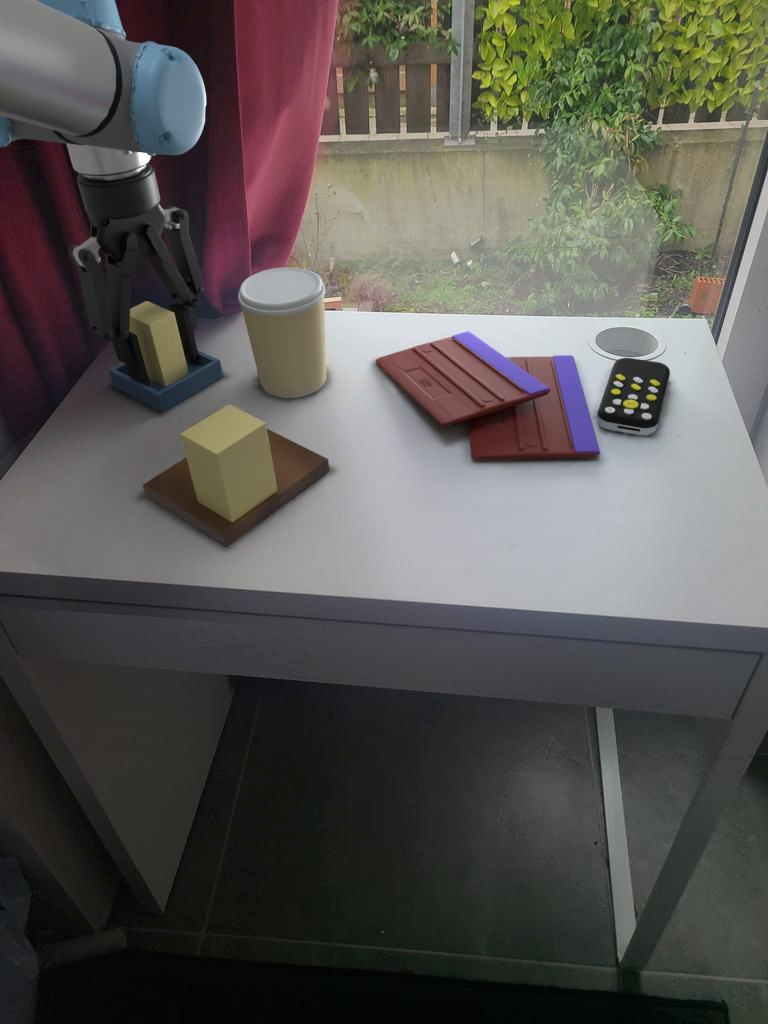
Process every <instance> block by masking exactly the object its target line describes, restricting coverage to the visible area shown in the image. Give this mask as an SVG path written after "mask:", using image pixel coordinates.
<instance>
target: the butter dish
mask: <svg viewBox="0 0 768 1024" xmlns="http://www.w3.org/2000/svg"><path fill="white" fill-rule="evenodd" d="M198 355H199V360H197V361H195V362H194V361H192V360H190V359H187V358H185V360H186V364H187V369H188V373H189V374H188V375H186V376H185V377H183V378H181V379H179V380H177V381H176V382H174V383H172V384H170V385H169V386H167V387H165V386H163V385H161V384H159V383H157V382H155V381H153V380H151V379H149V382H150V385H151V386H150V387H149V386H147V385H145V384H143V383H141V382H139V381H137V380H135V379H133V378H131V377H130V376H129V373H128V370H127V366H126V364H125V363H123V362H121V363H119V364H117V365H115V366H114V367H112V368H109V369H108V373H109V375H110V379H111V381H112V385H113V387H114V388H116V389H118V390H119V391H121V392H123V393H124V394H125V393H126V394H127V395H129V396H131V397H133V398H135V399H137V400H138V401H140V402H142V403H144V404H146V405H148V406H150V407H151V408H153V409H156V410H157V411H159V412H161V413H164V412H166V411H168V410H169V409H171V408H173V407H174V406H176V405H177V404H179V403H181V402H183V401H184V400H186V399H187V398H188V399H189V398H190V397H192V396H193V395H194V394H197V393H198V392H200V391H202V390H203V389H205V388H206V387H208V386H210V385H212V384H213V383H215V382H218V381H219V380H221V379H222V378H223V377H224V373H223V368H222V363H221V360H220V359H217V358H216V357H214V356H211V355H210V354H208V353H205V352H203V351H201V350H198Z"/></svg>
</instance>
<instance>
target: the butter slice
mask: <svg viewBox="0 0 768 1024" xmlns="http://www.w3.org/2000/svg"><path fill="white" fill-rule="evenodd" d="M129 332H131V333H133V334H136V335H137V338H138V342H139V345H140V349H141V352H142V356H143V360H144V363H145V367H146V371H147V374H148V378H149V379H151V380H153V381H155V382H157V383H159V384H161V385H163V386H165V387H167V386H169V385H170V384H172V383H174V382H176V381H177V380H179V379H181V378H183V377H185V376H186V375H188V374H189V373H188V369H187V364H186V360H185V356H184V352H183V348H182V343H181V339H180V335H179V331H178V327H177V323H176V318H175V314H174V312H171V311H169V309H166V308H165V307H162V306H161V305H157V304H155V303H153V302H150V301H148V300H146V301H143V302H141V303H139V304H138V305H135V306H133V307H132V308H131V307H130V327H129Z"/></svg>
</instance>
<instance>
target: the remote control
mask: <svg viewBox="0 0 768 1024" xmlns="http://www.w3.org/2000/svg"><path fill="white" fill-rule="evenodd" d="M670 375H671V370H670V368H669V366H668V365H666V364H665V363H662V362H659V361H652V360H646V359H640V358H632V357H621V358H618V359H617V360H615V362H613V365H612V369H611V371H610V374H609V377H608V380H607V384H606V385H605V389H604V391H603V395H602V397H601V401H600V403H599V407H598V409H597V414H596V422H597V424H598V425H599V427H601V428H602V429H605V430H608V431H613V432H618V433H619V432H620V433H624V434H630V435H637V436H649V435H651V434H653V433H655V431H657V429H658V426H659V421H660V417H661V414H662V408H663V405H664V401H665V396H666V393H667V388H668V383H669V380H670V377H671V376H670Z"/></svg>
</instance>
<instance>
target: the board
mask: <svg viewBox="0 0 768 1024" xmlns="http://www.w3.org/2000/svg"><path fill="white" fill-rule="evenodd" d="M267 433H268V439H269V445H270V450H271V456H272V462H273V468H274V473H275V479H276V485H277V492H276V493H274V494H273V495H271V496H270V497H269V498H267V499H266V500H264V501H263V502H261V503H260V504H259V505H257V506H256V507H254V508H253V509H252V510H250V511H249V512H247V513H246V514H244V515H243V516H242V517H240V518H239V519H237V520H236V521H235V522H233V523H232V522H230V521H228V520H227V519H225V518H223V517H222V516H220V515H219V514H217V513H215V512H214V511H212V510H211V509H209V508H207V507H206V506H204V505H203V504H201V503H199V502H198V500H197V496H196V492H195V489H194V485H193V481H192V477H191V473H190V469H189V466H188V462H187V458H186V456H185V457H184V458H182V459H180V460H179V461H177V462H176V463H174V464H173V465H171V466H170V467H168V468H165V470H164V471H162V472H160V473H159V474H157V475H155V476H154V477H152V478H151V479H149V480H147V481H145V482H144V483H143V484H142V485H141V486H142V490H143V492H144V496H145V497H146V498H148V499H149V500H150V501H152V502H154V503H156V505H159V506H160V507H162V508H164V509H165V510H166V511H168V512H170V513H172V514H173V515H175V516H176V517H178V518H180V519H181V520H182V521H184V522H186V523H188V524H189V525H191V526H192V527H194V528H195V529H197V530H199V531H201V532H202V533H203V534H205V535H206V536H208V537H210V538H212V539H213V540H215V541H217V542H218V543H220V544H222V545H223V546H224V547H229V545H230V544H232V543H233V542H235V541H236V540H238V539H239V538H240V537H242V536H243V535H244V534H246V533H247V532H248V531H250V530H251V529H253V528H254V527H255V526H256V525H258V524H259V523H261V522H262V521H263V520H265V519H266V518H267V517H268V516H270V515H271V514H273V513H274V512H275V511H277V510H278V509H280V508H281V507H282V506H283V505H285V504H287V503H288V502H289V501H291V500H292V499H293V498H294V497H296V496H297V495H298V494H300V493H301V492H302V491H304V490H305V489H307V488H309V486H311V485H312V484H313V483H314V482H317V480H319V479H320V478H321V477H323V476H324V475H325V474H327V473H328V472H329V471H330V462H329V458H327V457H325V456H323V455H322V454H319V453H317V452H316V451H313V450H311V449H310V448H307V447H305V446H303V445H302V444H299V443H297V442H295V441H293V440H291V439H289V438H287V437H285V436H283V435H281V434H279V433H277V432H275V431H274V430H271V429H268V428H267Z"/></svg>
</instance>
